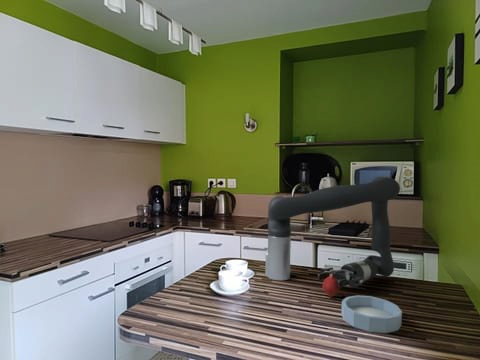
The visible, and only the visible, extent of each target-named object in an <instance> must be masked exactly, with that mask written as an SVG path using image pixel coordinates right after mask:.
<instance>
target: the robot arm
mask: <svg viewBox="0 0 480 360" xmlns="http://www.w3.org/2000/svg"><path fill="white" fill-rule="evenodd" d="M400 190H401V186H400V184H399V182H398V181H397V180H395V179H394V178H392V177H389V176H377V177H375V178H374V179H372V180H371V181H370V182H366V183H361V184H343V185H342V184H341V185H340V184H339V185H334V186H329V187H324V188H320V189H316V190H313V191H311V192H309V193H306V194H302V195H297V196H283V195H276V196H274V197H272V198H271V199H270V201H269V203H268V211H267V212H268V213H267V215H268V216H267V217H268V219H267V221H268V222H267V233H268V234H267V236H268V237H267V252H266V253H265V271H264V273H265V275H264V276H265V277H267V278H268V279H270V280H274V281H287V280H289V279H291V277H290V276H291V250H292V249H291V247H292V246H291V245H292V244H291V242H292V240H291V239H292V227H291V218H294V217H296V216H300V215H301V216H302V215H305V214H311V213H322V212H328V211H334V210H335V211H336V210H339V209H345V208H349V207H353V206H356V205H360V204H365V203H371V244H370V245H371V249H372V250H373V251H375V252H376V253H378V255H368V256H367V257H366V258H364V260H360V261H359V260H358V261H353V262H349V263H345V264H344V265H342V266H341V268H339V269H334V268H333V267H327V268H322V269H321V270H320V273H318V274H317V280H318V281H322V280H323V281H324V280H325V279H326V278H327V277H329V275H330V274H332V275H333V276H334V277H335V278H336V279H337V280H338V287H340V288H343V287H350V286H351V288H352V289H353V288H357V287H359V286H362V285H363V284H364V282H366V281H367V280H369V279H373V278H375V277H376V276H377V275H380V276H383V277H390V276H392V274H393V273H394V269H395V265H394V259H393V255H392V251H391V236H392V235H391V234H392V233H391V225H390V224H391V223H390V221H389V215H388V214H389V213H388V204H389V201H390V200H393V199H395V198H397V197H398V195H399V194H400V192H401V191H400Z"/></svg>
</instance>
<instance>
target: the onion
mask: <svg viewBox="0 0 480 360" xmlns="http://www.w3.org/2000/svg"><path fill="white" fill-rule="evenodd" d="M340 289H341V287H338V280H337V279H336V278H335V275H334V274H333V275H332V274H330V275H329V277H327V278H326V279H323V282H322V290H323V291H324V293H325V294H327V295H328V297H329V298H332V297H334V296H336V295H337V294H338V293H339V291H340Z"/></svg>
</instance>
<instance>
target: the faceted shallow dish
mask: <svg viewBox="0 0 480 360" xmlns="http://www.w3.org/2000/svg"><path fill="white" fill-rule="evenodd" d="M341 317H342V319H343V321H344V322H345V323H347V324H348V325H351V326H352V327H354V328H356V329H360V330H363V331H366V332H370V333H379V334H389V333H393V332H396V331H399V329H400V328H401V326H402V317H403V311H402V310H401V308H400V307H399V306H398V305H397V304H396V303H393V302H392V301H389V300H387V299H384V298H379V297H375V296H373V295H372V296H370V295H358V294H357V295H352V296H351V295H350V296H346V297H345V298H343V299H342V301H341Z"/></svg>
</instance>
